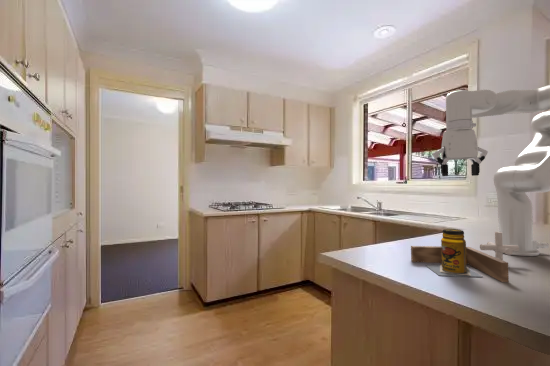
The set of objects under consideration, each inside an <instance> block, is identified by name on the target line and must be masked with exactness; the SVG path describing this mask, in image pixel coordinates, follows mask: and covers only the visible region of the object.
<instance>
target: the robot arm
mask: <svg viewBox="0 0 550 366" xmlns="http://www.w3.org/2000/svg"><path fill="white" fill-rule="evenodd" d="M539 112H540V113H539ZM533 113H538V114H537V115H535V116H533V118H532V120H531V122H530V129H531V133H532V134H531V135H532V141H531V142H530V143H529V144H528V145H527V147H525V148H524V149H523V150H522V151H521V152H520V153H519V154H518V156H516V158H515V161H514V165H510V166H504V167H501V168H499V169H498V170H497V171H495V173H494V175H493V185H494V188H495V192H496V198H497V229H498V231H497V232H502V240H503V245H518V247H519V251H513V253H512V254H511V255H512V256H522V257H523V256H524V257H537V256H539V255H540V251H539V250H538V249H549V248H550V245H549V243H548V242H539V241H537V240H534V229H533V227H534V226H533V225H534V223H533V222H534V219H533V203H532V201H531V199H530V198H529V197H530V196H529V195H528V194H527V193H547V192H550V84H547V85H545V86H541V87H539V88H533V89H509V90H504V91H500V92H497V93H496V92H495V91H493V90H491V89H479V90H468V89H459V90H454V91H451V92H450V93H447V95H446V96H445V125H446V127H445V128H446V131H443V135H442V140H441V148H440V149H437V150H436V151H434V152H432V156H433V158H434V160H435V161H436V162H437V163H438V164H439V165H440V175H441V176H442V177H448V176H449V164H448V162H449V161H453V160H455V161H458V160H469V161H470V162H471V163H472V164H471V167H470V168H471V170H470V171H471V174H470V175H471V176H479V175H480V170H481V169H480V166H481V165H480V164H481V163H482V162H483V161H484V160H486V157H487V155H488V153H489V151H488V150H486V149H484V148H481V147H480V146H478V140H477V135H476V130H475V129H473V128H476V127H477V123H476V122H473V119H474V118H475V119H476V118H484V117H493V116H503V115H513V114H516V115H517V114H533ZM478 154H480V155H479V156H478ZM440 156H441V157H440ZM511 255H510V256H511Z"/></svg>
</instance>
